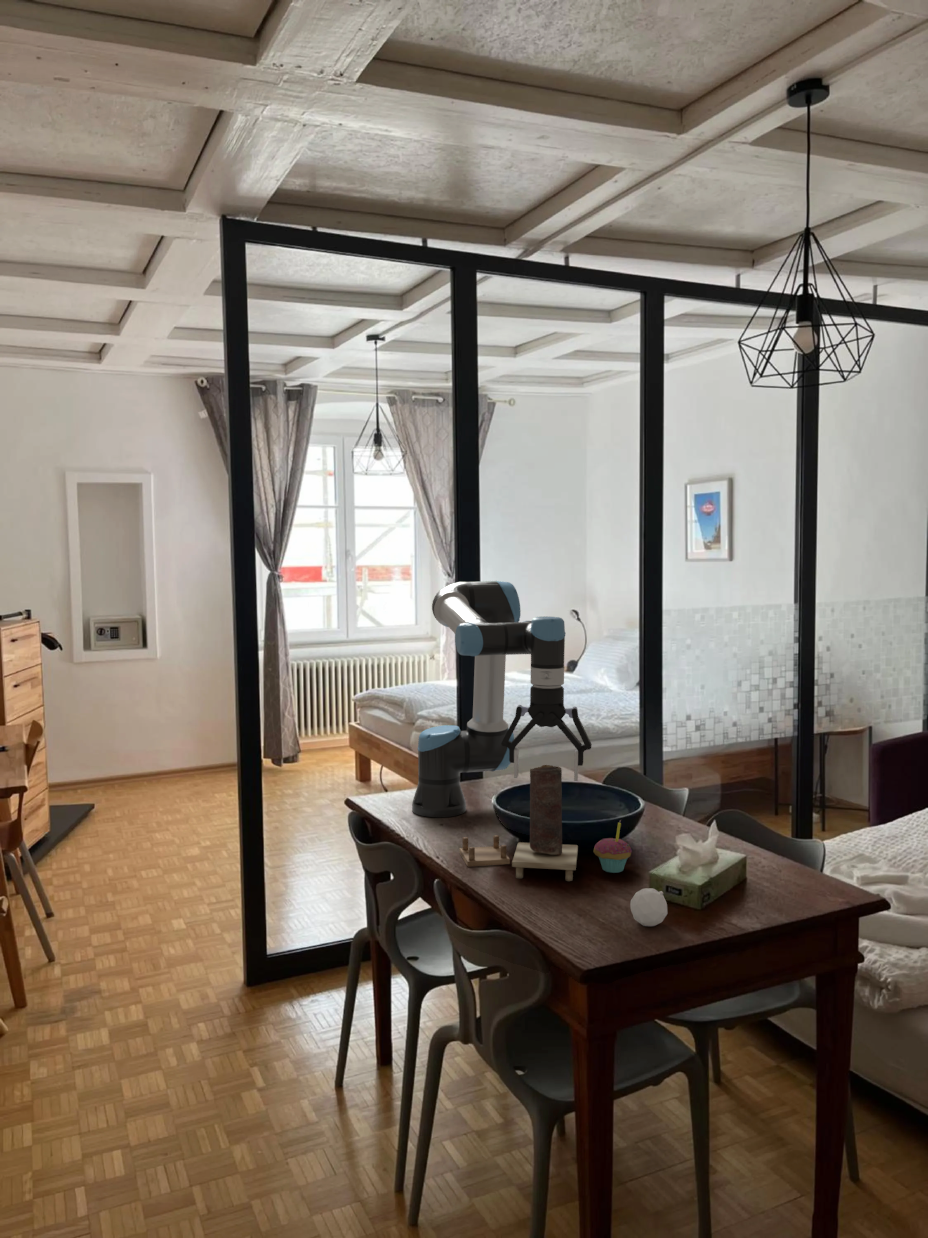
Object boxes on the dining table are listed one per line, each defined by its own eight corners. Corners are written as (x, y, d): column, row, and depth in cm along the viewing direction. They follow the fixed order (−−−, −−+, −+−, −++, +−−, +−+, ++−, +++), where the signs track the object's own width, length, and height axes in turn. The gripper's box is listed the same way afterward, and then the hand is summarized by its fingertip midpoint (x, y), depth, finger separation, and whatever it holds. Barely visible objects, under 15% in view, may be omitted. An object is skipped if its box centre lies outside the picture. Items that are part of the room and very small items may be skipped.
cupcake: (638, 869, 217) (639, 818, 216) (617, 878, 210) (618, 826, 209) (607, 860, 222) (607, 810, 222) (585, 869, 216) (586, 818, 215)
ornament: (645, 913, 190) (670, 886, 188) (656, 940, 183) (682, 912, 181) (618, 900, 188) (643, 872, 185) (628, 927, 181) (654, 898, 179)
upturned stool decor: (459, 853, 228) (459, 837, 228) (499, 850, 230) (499, 834, 230) (467, 866, 218) (467, 849, 218) (509, 864, 220) (509, 847, 220)
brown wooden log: (538, 859, 211) (539, 771, 209) (523, 850, 217) (524, 764, 216) (568, 855, 214) (569, 768, 212) (552, 846, 220) (553, 761, 219)
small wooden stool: (518, 858, 224) (518, 842, 223) (577, 862, 222) (577, 845, 221) (512, 879, 210) (512, 861, 210) (575, 882, 208) (575, 865, 207)
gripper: (490, 686, 211) (489, 779, 213) (603, 690, 207) (601, 784, 209) (494, 681, 218) (493, 771, 220) (603, 684, 214) (601, 776, 216)
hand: (545, 778), depth 215 cm, fingers open, 13 cm apart
